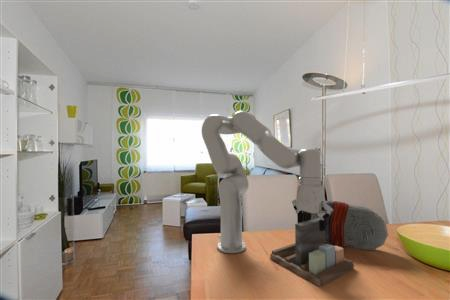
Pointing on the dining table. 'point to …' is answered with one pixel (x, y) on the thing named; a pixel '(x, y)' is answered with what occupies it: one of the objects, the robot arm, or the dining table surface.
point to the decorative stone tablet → (354, 227)
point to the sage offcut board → (317, 262)
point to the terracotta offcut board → (339, 255)
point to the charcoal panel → (307, 240)
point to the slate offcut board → (328, 254)
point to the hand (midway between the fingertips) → (311, 226)
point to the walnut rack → (304, 269)
